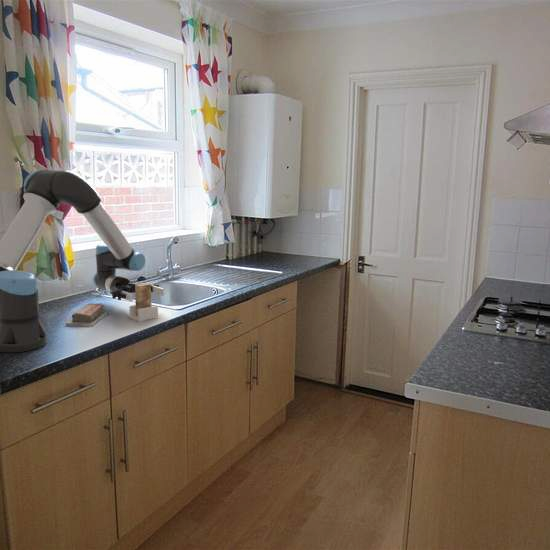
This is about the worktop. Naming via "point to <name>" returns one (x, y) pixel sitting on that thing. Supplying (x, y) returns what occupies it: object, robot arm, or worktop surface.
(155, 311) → the cream stone block
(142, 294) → the oak plank
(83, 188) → the robot arm
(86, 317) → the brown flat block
